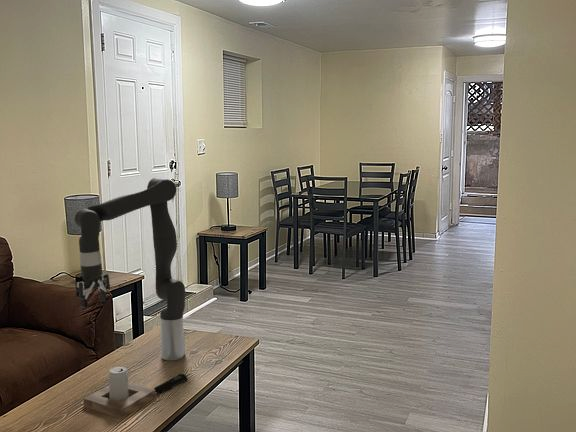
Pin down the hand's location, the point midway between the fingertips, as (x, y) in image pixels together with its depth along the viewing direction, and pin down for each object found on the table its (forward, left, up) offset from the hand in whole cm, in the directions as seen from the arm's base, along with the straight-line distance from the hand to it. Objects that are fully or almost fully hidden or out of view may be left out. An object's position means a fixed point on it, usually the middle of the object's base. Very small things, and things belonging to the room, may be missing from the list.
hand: (94, 304), depth 216 cm
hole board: (+11, +22, -29) cm, 38 cm away
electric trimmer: (-7, +30, -29) cm, 42 cm away
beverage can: (+11, +22, -29) cm, 38 cm away
